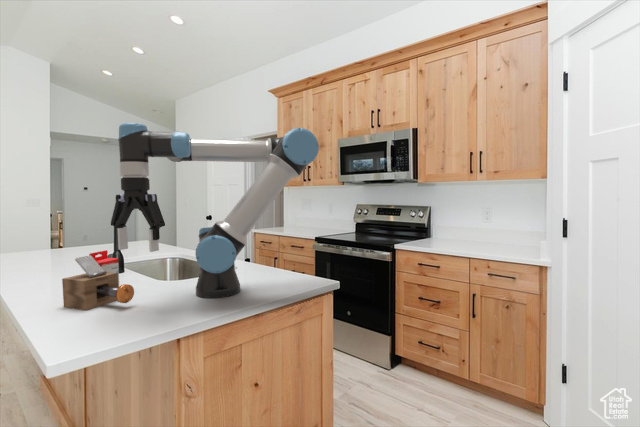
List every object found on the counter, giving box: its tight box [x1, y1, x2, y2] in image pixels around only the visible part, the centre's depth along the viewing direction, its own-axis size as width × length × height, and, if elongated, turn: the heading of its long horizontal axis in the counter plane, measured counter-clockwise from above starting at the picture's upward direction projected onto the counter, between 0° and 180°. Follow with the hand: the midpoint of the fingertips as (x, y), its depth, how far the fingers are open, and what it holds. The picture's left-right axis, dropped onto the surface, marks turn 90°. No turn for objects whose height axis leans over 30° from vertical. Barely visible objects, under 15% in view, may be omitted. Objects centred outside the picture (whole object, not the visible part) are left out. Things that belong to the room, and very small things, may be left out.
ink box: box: [88, 250, 120, 286], centre depth 129 cm, size 8×5×15 cm, turn 168°
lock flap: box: [74, 255, 107, 278], centre depth 116 cm, size 8×6×1 cm
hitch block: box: [61, 272, 120, 311], centre depth 116 cm, size 10×11×9 cm
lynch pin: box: [96, 283, 135, 304], centre depth 113 cm, size 11×6×6 cm, turn 69°
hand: (138, 250), depth 108 cm, fingers open, 12 cm apart
